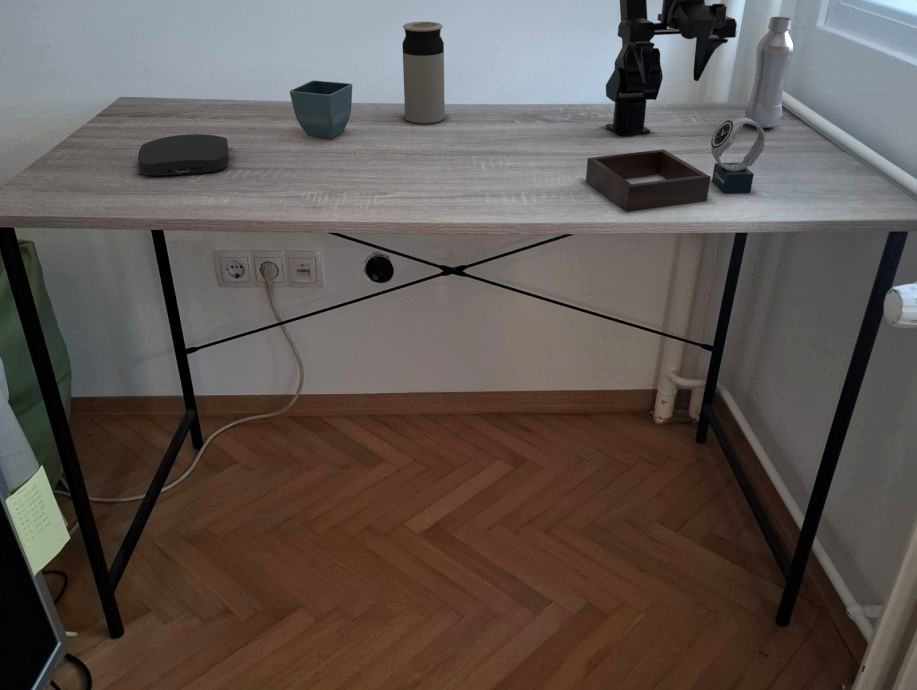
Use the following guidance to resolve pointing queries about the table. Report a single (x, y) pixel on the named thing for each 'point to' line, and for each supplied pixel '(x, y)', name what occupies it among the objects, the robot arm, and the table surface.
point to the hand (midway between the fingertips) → (670, 82)
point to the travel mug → (423, 72)
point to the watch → (734, 174)
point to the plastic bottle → (770, 73)
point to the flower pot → (322, 107)
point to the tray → (675, 190)
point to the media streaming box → (183, 154)
